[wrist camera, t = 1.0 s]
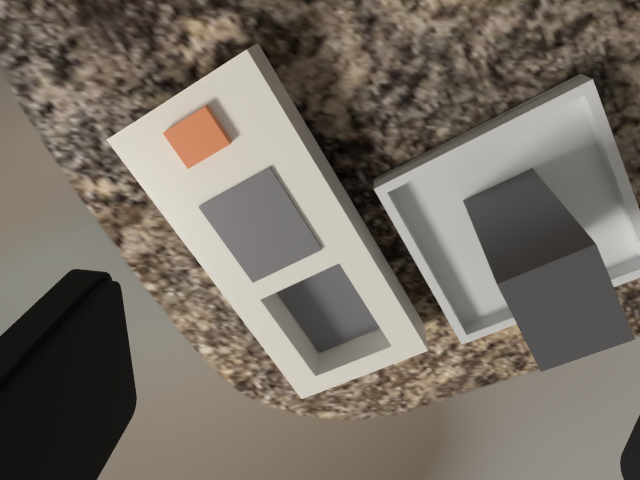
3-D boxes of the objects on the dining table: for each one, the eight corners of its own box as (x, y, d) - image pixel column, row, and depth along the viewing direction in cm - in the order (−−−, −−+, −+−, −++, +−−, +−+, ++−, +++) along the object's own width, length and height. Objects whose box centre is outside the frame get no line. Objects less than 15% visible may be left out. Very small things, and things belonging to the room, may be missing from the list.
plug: (532, 168, 31) (596, 243, 22) (564, 242, 33) (635, 339, 24) (462, 200, 32) (496, 284, 23) (497, 269, 34) (541, 371, 25)
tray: (580, 73, 29) (592, 79, 27) (647, 255, 33) (660, 269, 32) (373, 178, 33) (373, 189, 31) (458, 329, 37) (462, 344, 36)
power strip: (258, 43, 30) (244, 50, 26) (424, 324, 37) (429, 356, 34) (128, 126, 33) (101, 142, 29) (306, 371, 40) (300, 405, 37)
